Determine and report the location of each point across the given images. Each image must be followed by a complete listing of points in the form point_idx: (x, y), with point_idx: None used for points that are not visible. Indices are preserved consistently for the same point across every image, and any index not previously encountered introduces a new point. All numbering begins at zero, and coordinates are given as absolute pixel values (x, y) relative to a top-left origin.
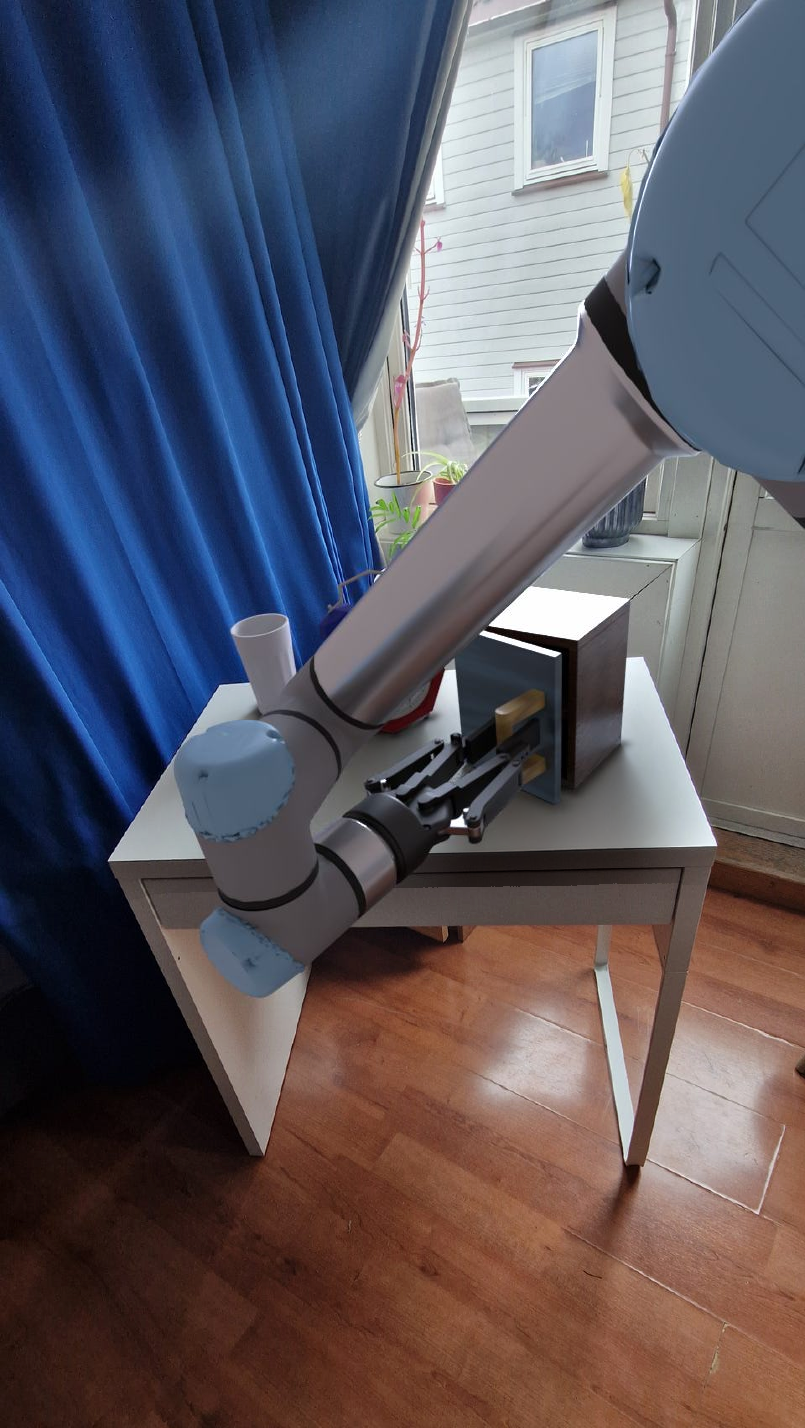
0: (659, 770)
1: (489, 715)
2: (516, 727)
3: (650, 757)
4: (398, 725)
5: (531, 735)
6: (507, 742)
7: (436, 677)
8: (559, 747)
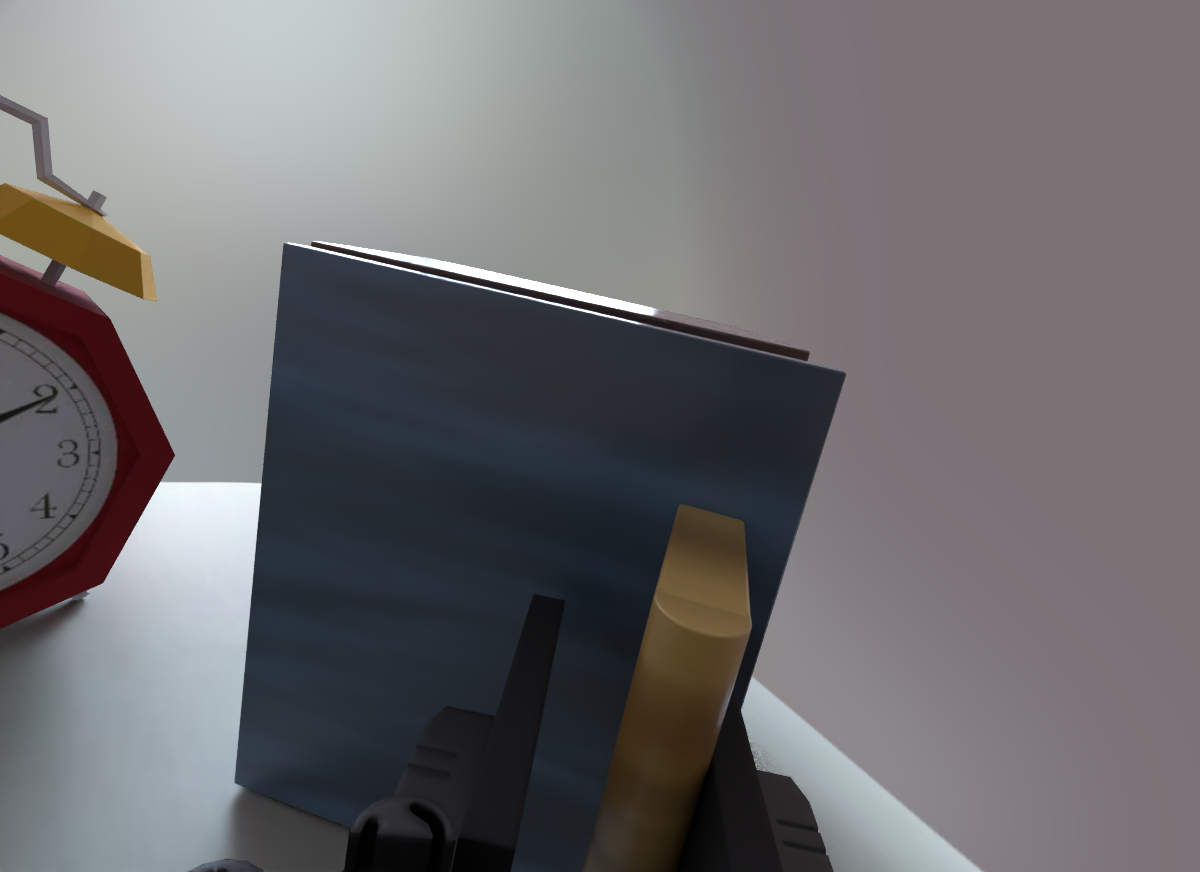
0: (785, 726)
1: (409, 609)
2: None
3: None
4: None
5: None
6: (745, 812)
7: (137, 475)
8: None
